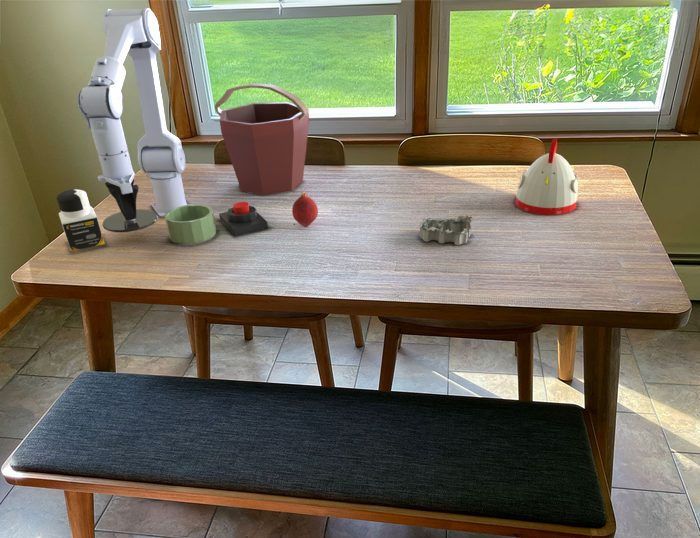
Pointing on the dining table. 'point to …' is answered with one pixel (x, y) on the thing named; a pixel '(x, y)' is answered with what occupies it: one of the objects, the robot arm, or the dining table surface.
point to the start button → (241, 208)
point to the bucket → (266, 141)
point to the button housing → (243, 221)
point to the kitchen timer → (548, 185)
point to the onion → (304, 210)
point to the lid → (130, 221)
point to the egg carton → (446, 229)
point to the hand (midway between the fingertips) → (129, 216)
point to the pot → (190, 224)
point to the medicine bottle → (79, 220)
